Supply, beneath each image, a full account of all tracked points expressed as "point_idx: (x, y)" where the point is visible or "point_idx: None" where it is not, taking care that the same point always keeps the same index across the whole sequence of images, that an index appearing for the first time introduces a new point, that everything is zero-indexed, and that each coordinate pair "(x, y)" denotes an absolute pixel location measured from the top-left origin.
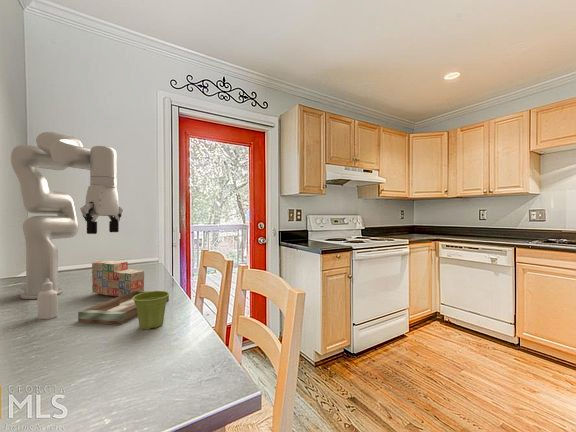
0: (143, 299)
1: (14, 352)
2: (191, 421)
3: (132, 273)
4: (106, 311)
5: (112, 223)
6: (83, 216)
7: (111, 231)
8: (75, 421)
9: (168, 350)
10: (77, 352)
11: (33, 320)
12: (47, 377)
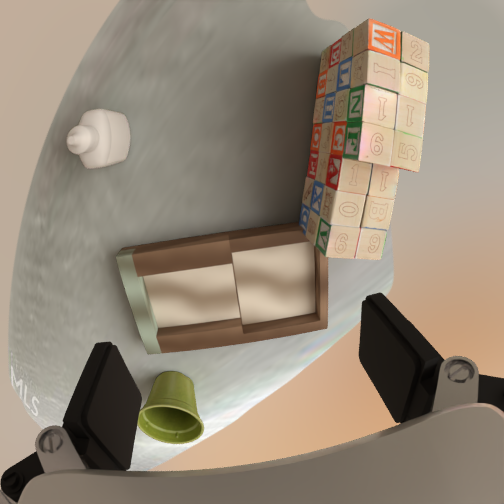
0: (174, 399)
1: (20, 279)
2: None
3: (332, 256)
4: (146, 315)
5: (399, 378)
6: (12, 471)
7: (363, 319)
8: (39, 423)
9: None
10: (65, 358)
11: None
12: (33, 371)
